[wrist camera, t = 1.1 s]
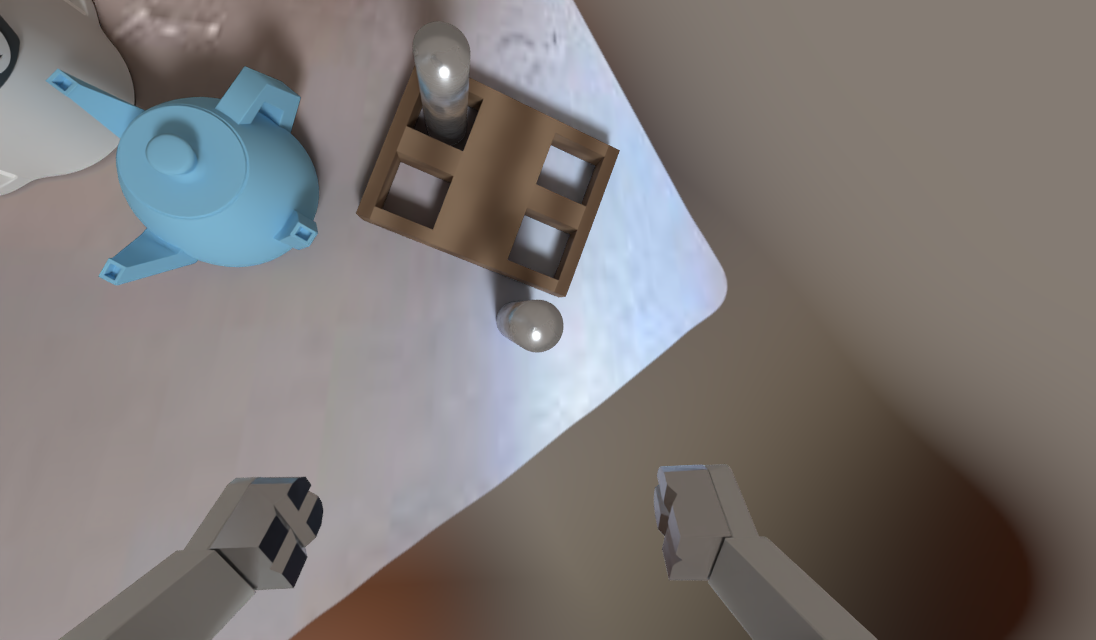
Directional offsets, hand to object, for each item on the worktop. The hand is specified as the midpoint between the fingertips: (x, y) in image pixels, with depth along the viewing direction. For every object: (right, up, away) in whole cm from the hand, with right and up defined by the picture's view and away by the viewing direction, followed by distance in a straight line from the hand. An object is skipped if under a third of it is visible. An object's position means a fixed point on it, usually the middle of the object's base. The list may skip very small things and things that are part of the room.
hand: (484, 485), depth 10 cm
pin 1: (-9, +23, +33) cm, 42 cm away
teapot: (-27, +15, +30) cm, 43 cm away
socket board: (-4, +17, +35) cm, 39 cm away
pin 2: (-2, +4, +35) cm, 36 cm away
